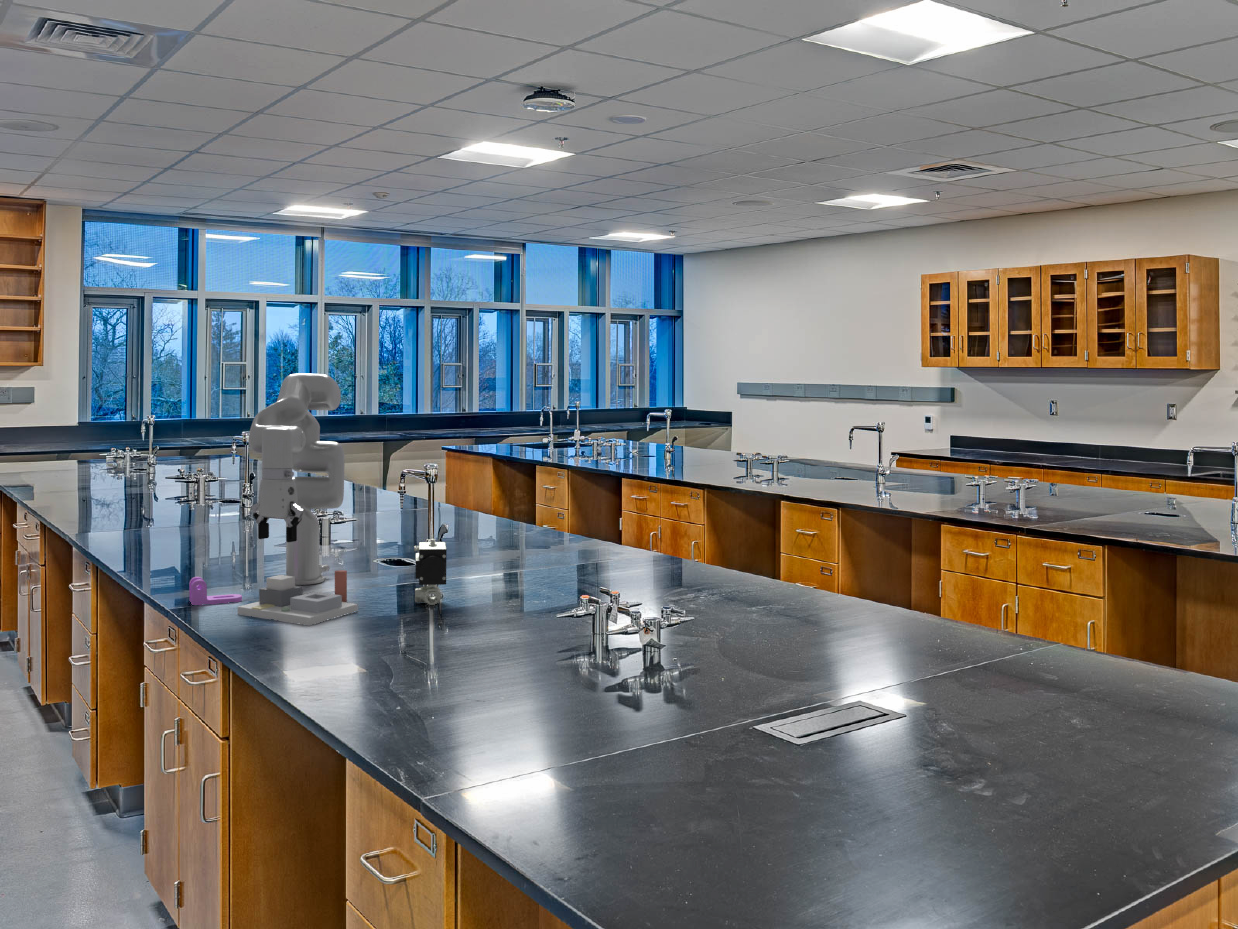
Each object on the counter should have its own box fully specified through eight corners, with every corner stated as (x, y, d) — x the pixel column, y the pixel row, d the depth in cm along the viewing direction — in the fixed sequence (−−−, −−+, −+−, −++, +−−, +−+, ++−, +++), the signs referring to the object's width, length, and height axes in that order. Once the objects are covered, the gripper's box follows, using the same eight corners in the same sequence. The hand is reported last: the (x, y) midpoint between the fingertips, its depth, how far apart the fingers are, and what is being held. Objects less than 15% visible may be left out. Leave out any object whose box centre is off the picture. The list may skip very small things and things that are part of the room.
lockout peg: (340, 602, 278) (340, 569, 277) (349, 603, 277) (349, 570, 276) (332, 604, 275) (332, 571, 275) (341, 605, 274) (341, 572, 273)
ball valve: (414, 596, 287) (414, 534, 286) (444, 596, 289) (445, 534, 287) (413, 611, 270) (414, 544, 268) (446, 610, 271) (446, 544, 270)
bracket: (192, 606, 270) (191, 580, 269) (189, 602, 275) (189, 577, 274) (243, 602, 276) (243, 577, 276) (240, 598, 281) (239, 573, 280)
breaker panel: (288, 601, 278) (288, 579, 277) (357, 611, 267) (357, 589, 267) (237, 614, 261) (237, 591, 261) (309, 625, 251) (309, 601, 251)
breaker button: (280, 589, 270) (280, 574, 269) (294, 591, 268) (294, 576, 267) (266, 593, 265) (266, 577, 265) (281, 595, 263) (281, 579, 263)
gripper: (312, 475, 263) (312, 541, 265) (263, 472, 271) (263, 535, 272) (291, 477, 257) (291, 544, 258) (241, 474, 264) (242, 539, 266)
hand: (277, 540), depth 265 cm, fingers open, 9 cm apart
